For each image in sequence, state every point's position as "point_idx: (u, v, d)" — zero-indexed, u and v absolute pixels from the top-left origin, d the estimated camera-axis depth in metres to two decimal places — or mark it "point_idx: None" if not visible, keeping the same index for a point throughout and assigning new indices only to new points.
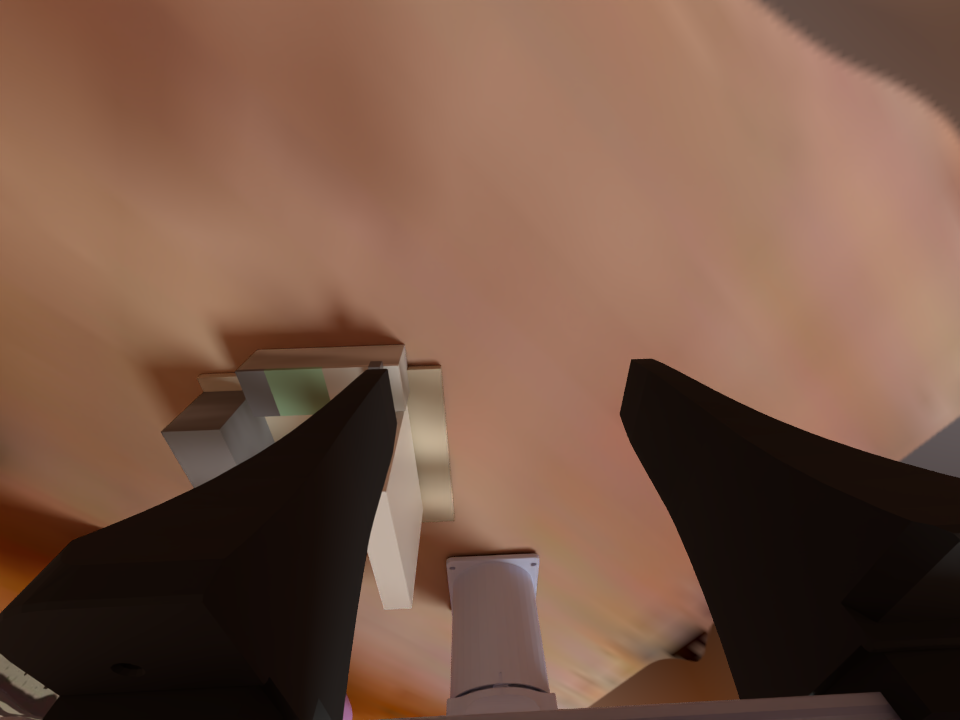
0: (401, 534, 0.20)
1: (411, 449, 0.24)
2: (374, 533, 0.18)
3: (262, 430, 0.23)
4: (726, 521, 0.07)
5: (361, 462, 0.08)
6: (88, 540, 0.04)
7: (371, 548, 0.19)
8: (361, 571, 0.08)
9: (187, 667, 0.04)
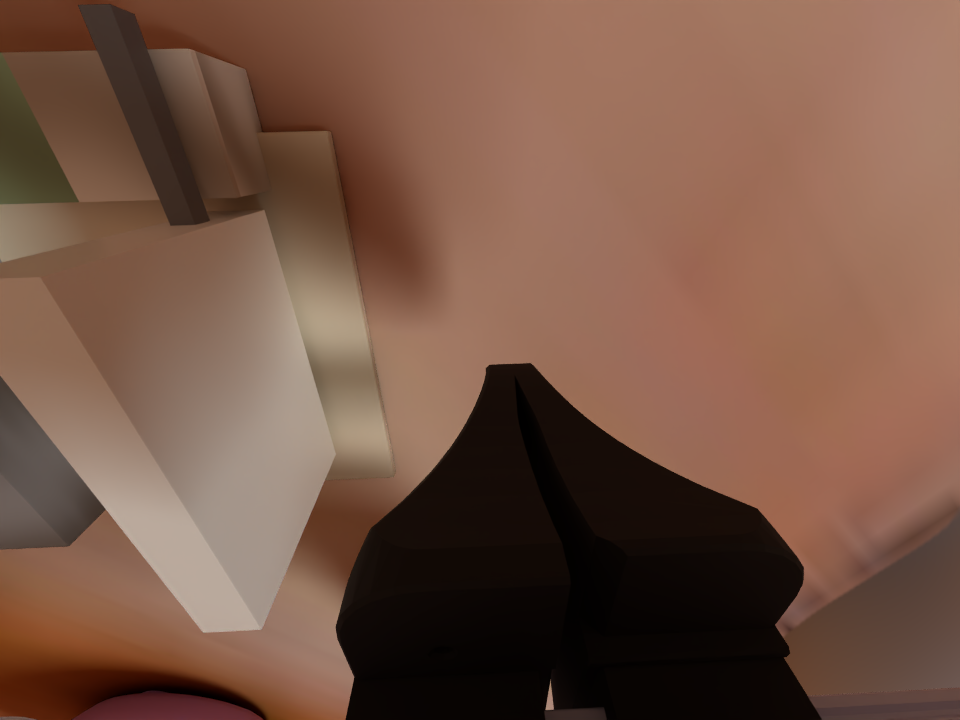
0: (200, 457, 0.08)
1: (285, 319, 0.12)
2: (83, 435, 0.07)
3: None
4: None
5: None
6: (391, 526, 0.04)
7: (98, 483, 0.07)
8: None
9: (501, 650, 0.04)
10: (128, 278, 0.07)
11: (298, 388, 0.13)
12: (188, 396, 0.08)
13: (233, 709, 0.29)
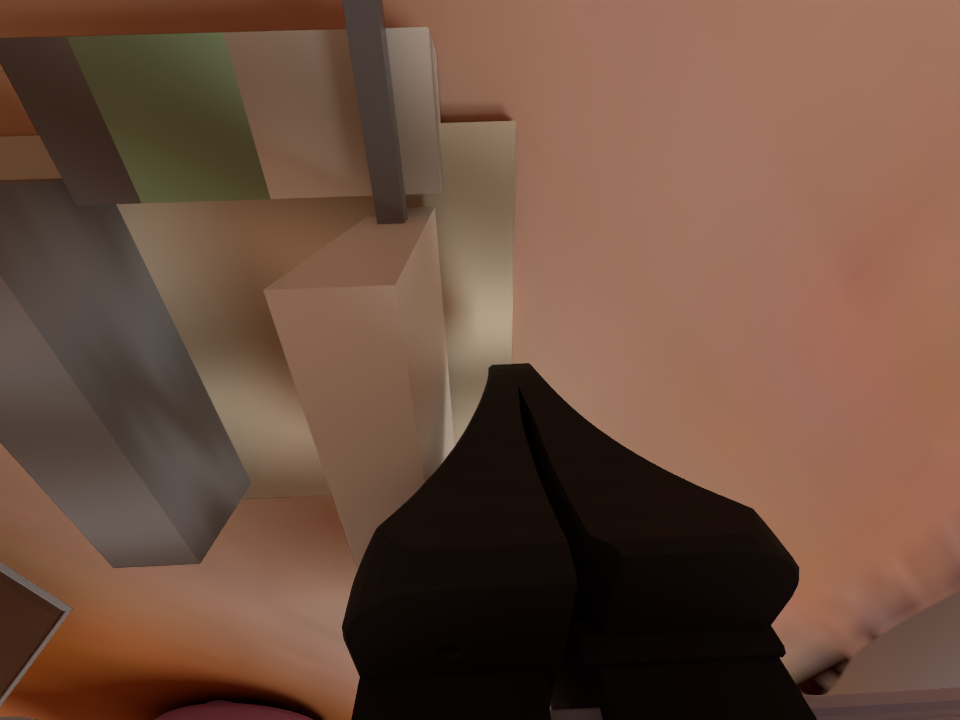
0: None
1: (442, 323, 0.11)
2: (359, 461, 0.06)
3: (130, 277, 0.11)
4: None
5: None
6: (397, 526, 0.04)
7: (351, 512, 0.07)
8: None
9: (507, 650, 0.04)
10: (412, 284, 0.06)
11: (447, 397, 0.12)
12: (428, 413, 0.07)
13: (300, 719, 0.28)
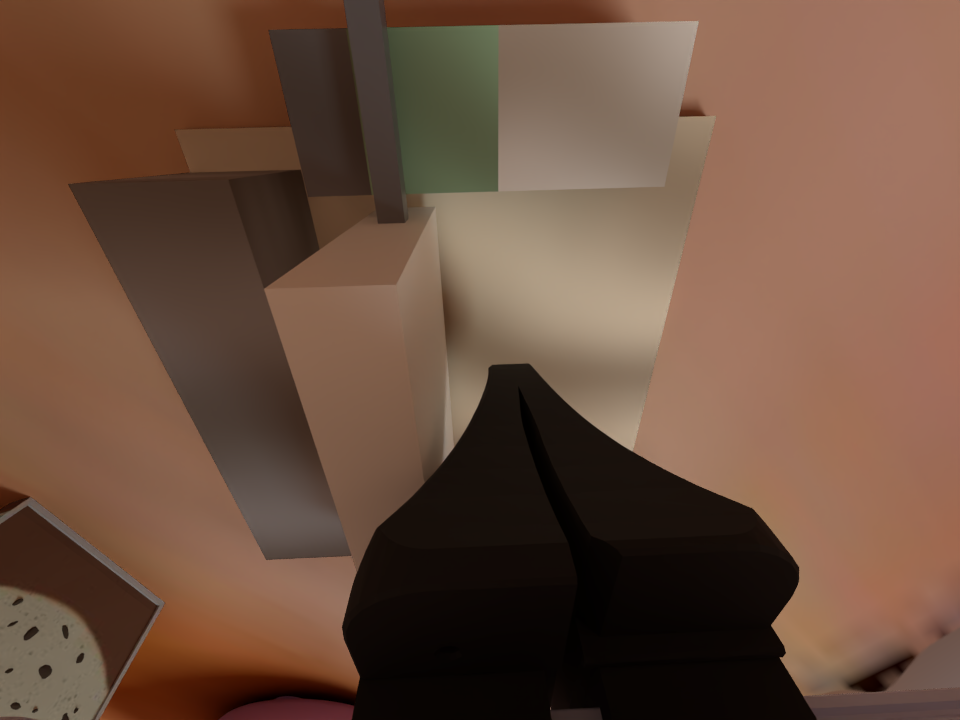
0: None
1: (442, 323, 0.11)
2: (359, 461, 0.06)
3: None
4: None
5: None
6: (397, 526, 0.04)
7: (351, 511, 0.07)
8: None
9: (507, 650, 0.04)
10: (413, 283, 0.06)
11: (447, 397, 0.12)
12: (428, 413, 0.07)
13: None
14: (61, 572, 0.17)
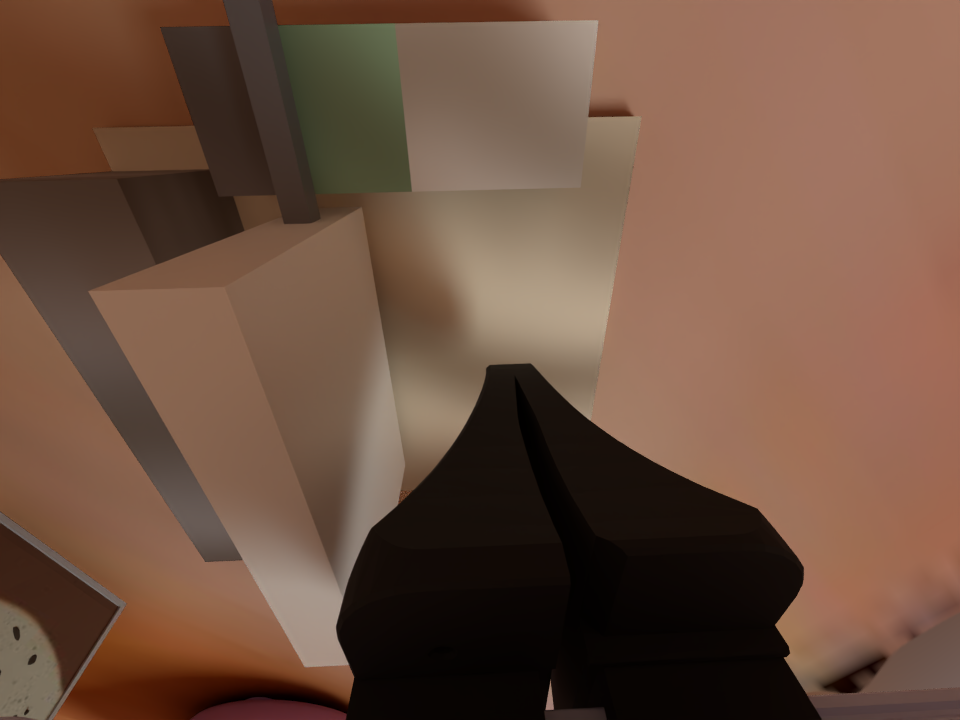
0: (329, 483, 0.07)
1: (375, 324, 0.11)
2: (228, 465, 0.06)
3: None
4: None
5: None
6: (390, 527, 0.04)
7: (232, 516, 0.06)
8: None
9: (501, 651, 0.04)
10: (282, 285, 0.06)
11: (384, 398, 0.12)
12: (321, 416, 0.07)
13: (340, 716, 0.28)
14: (13, 573, 0.17)
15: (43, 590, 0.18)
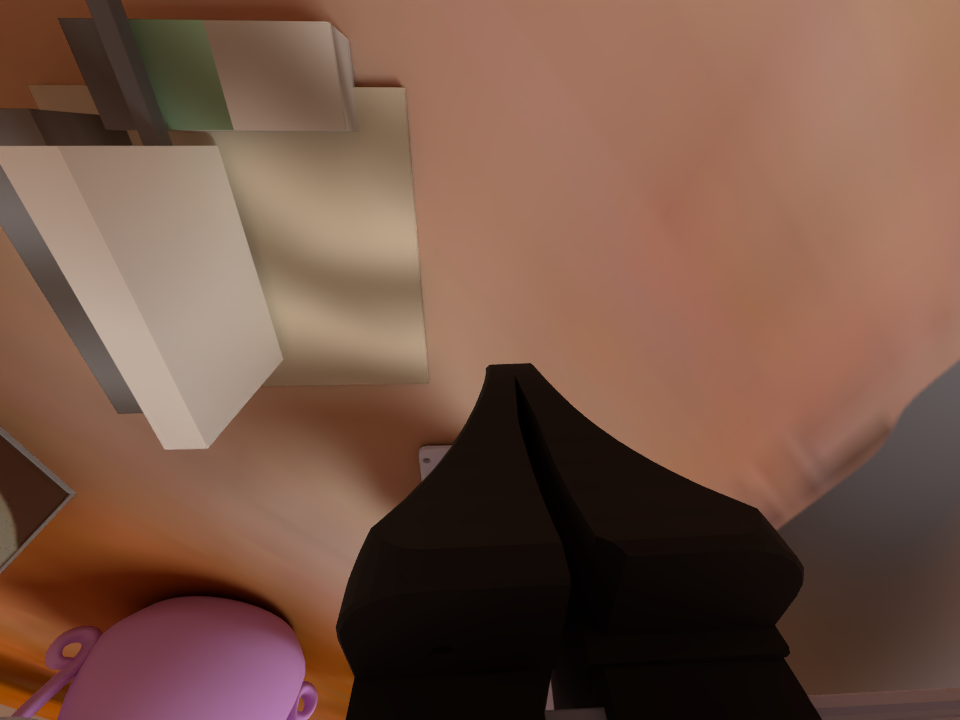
0: (160, 301, 0.12)
1: (235, 233, 0.16)
2: (79, 264, 0.10)
3: None
4: None
5: None
6: (391, 527, 0.04)
7: (89, 304, 0.11)
8: None
9: (501, 650, 0.04)
10: (110, 163, 0.10)
11: (246, 290, 0.17)
12: (151, 255, 0.12)
13: (268, 614, 0.33)
14: None
15: (3, 466, 0.22)
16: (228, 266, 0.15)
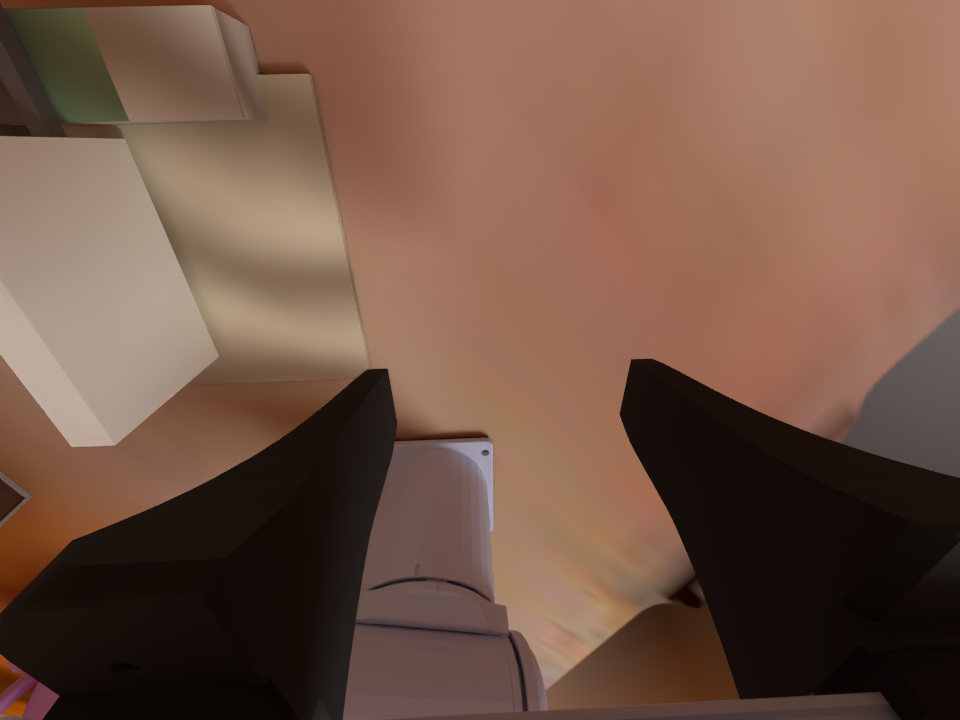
0: (46, 294, 0.12)
1: (151, 228, 0.16)
2: None
3: None
4: (726, 521, 0.07)
5: (361, 462, 0.08)
6: (88, 541, 0.04)
7: None
8: (361, 571, 0.08)
9: (187, 667, 0.04)
10: None
11: (166, 286, 0.17)
12: (34, 248, 0.12)
13: None
14: None
15: None
16: (141, 261, 0.15)
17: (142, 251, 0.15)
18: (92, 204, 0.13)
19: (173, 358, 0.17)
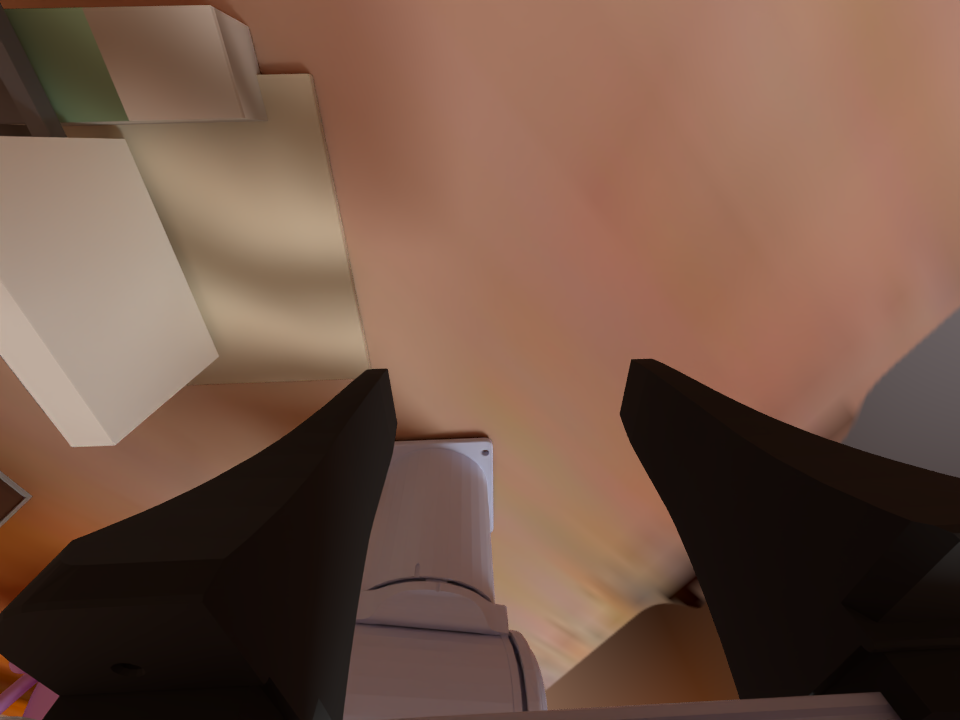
0: (46, 294, 0.12)
1: (151, 228, 0.16)
2: None
3: None
4: (726, 521, 0.07)
5: (361, 462, 0.08)
6: (88, 541, 0.04)
7: None
8: (361, 571, 0.08)
9: (187, 667, 0.04)
10: None
11: (166, 286, 0.17)
12: (34, 248, 0.12)
13: None
14: None
15: None
16: (141, 261, 0.15)
17: (142, 251, 0.15)
18: (92, 204, 0.13)
19: (173, 358, 0.17)
